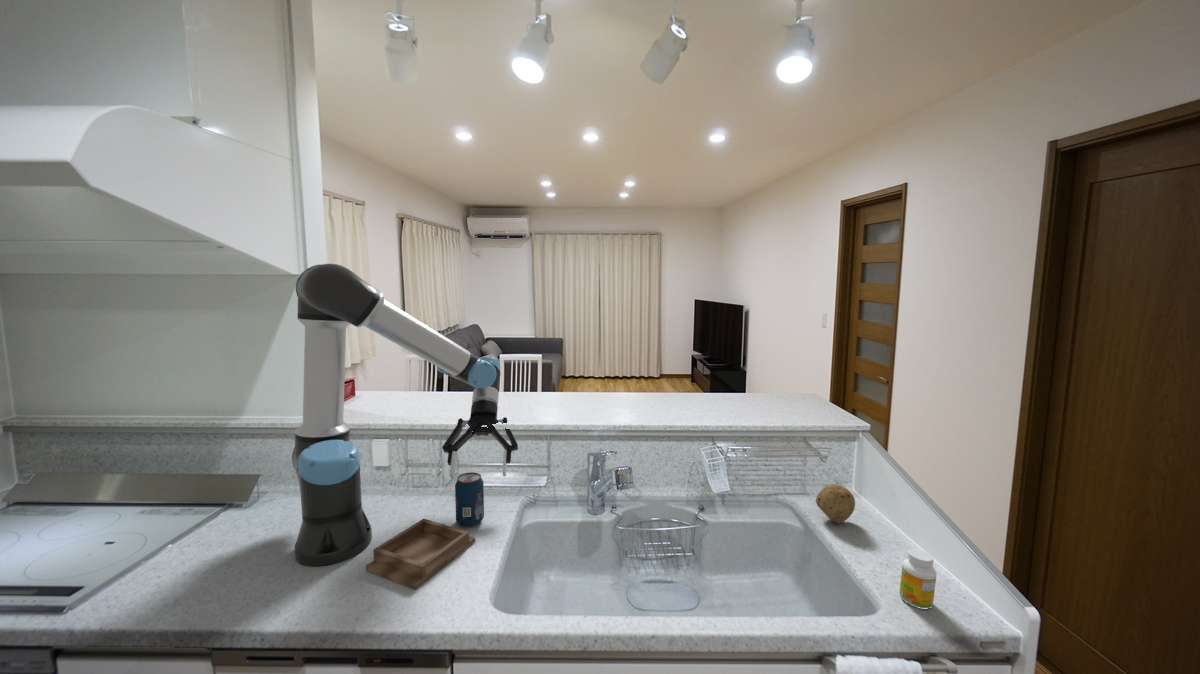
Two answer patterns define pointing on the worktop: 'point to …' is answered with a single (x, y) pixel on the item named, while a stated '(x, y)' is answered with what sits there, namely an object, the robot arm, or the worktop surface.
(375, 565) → the wooden tray
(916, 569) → the supplement bottle
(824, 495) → the brown rounded lump
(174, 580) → the worktop surface
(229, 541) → the worktop surface
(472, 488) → the soda can
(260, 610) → the worktop surface
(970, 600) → the worktop surface
